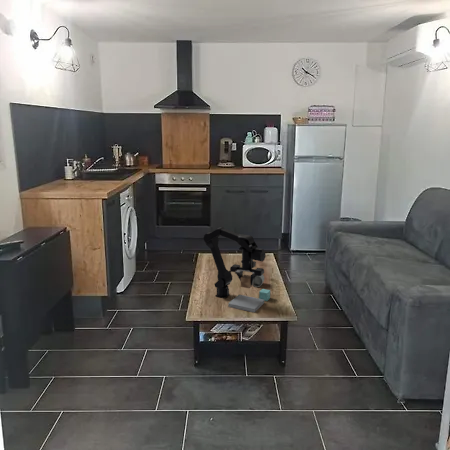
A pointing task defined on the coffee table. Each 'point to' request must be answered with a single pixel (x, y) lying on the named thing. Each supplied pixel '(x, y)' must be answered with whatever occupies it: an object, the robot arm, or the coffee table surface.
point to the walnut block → (246, 281)
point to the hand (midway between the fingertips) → (246, 284)
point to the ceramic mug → (258, 281)
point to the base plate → (246, 303)
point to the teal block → (264, 294)
